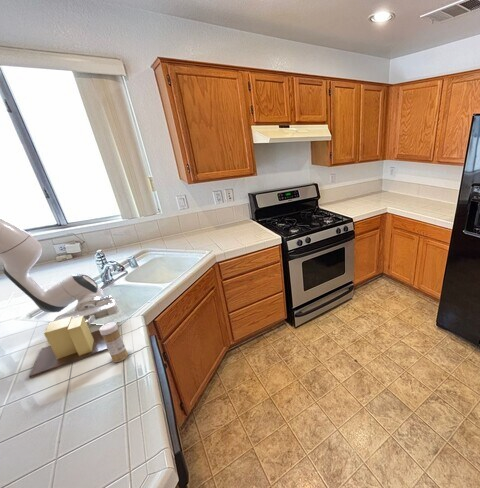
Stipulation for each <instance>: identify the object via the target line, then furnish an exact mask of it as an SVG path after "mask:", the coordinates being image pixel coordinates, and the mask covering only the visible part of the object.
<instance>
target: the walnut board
mask: <svg viewBox="0 0 480 488" xmlns="http://www.w3.org/2000/svg"><path fill="white" fill-rule="evenodd" d="M90 332H91V335H92V337H93V339H94V342H93V347H92V351H91V352H88V353H86V354H83V355H80V356H79V354H78V352H77V353H74V354H71V355H68V356H65V357H62V358H59V359H57V358H56V356H55V354H54V352H53V350H52V348H51V346H50V345H48V346H44V347H42V348H41V349H40V352H39V353H38V356H37V358H36V360H35V362H34V364H33V366H32V369H31V371H30V373H29V375H28V377H29V379H32V378H34V377H36V376H40V375H42V374H46V373H48V372H50V371H53V370H57V369H60V368H61V367H64V366H68V365H70V364H73V363H77V362H78V361H82V360H85V359H88V358H90V357H92V356H96V355H99V354H101V353H104V352H107V351H108V349H107V346H106V344H105V342H104V339H103V336H102V335H101V334H100V331H99V329H97V330H94V331H90Z"/></svg>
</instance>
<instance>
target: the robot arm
mask: <svg viewBox="0 0 480 488" xmlns="http://www.w3.org/2000/svg"><path fill="white" fill-rule="evenodd" d="M42 254H43V245H42V243H40V241H39V240H37V238H35V237H34V236H32V235H31V234H30V233H29V232H28V231H26V230H24V229H23V228H22V227H20V226H18V225H17V224H15V223H13V222H11V221H9V220H8V219H6V218H4V217H2V216H0V260H1V262H2V263H3V265H2V266H1V271H2V272H3V274H4V275H5V276H6V277H7V278H8V279H9V281H11V282H12V283H13V285H15V287H17V288H18V289H19V290H21V291H22V292H23V293H24V294H25V295H26V296H27V297H28V298H29V299H31V300H32V302H33V303H34V304H35V305H36V306H37V307H38V308H39V309H40V310H41V311H43V312H44V313H59V312H61V311H62V310H64V309H66V308H67V307H68V306H69V305H72V303H74V302H76V301H77V303H76V304H75V305H76V306H75V308H74V310H72V311H69V312H66V313H65V312H64V313H62V314H60V315H58V316H56V317H55V318H54V319H53V321H57V320H60V319H64V318H67V317H71V316H72V318H73V319H74V318H77V317H80V316H84V318H85V321H86V323H87V325H88V326H91V324H93V322H95V321H96V320H101V319H103V318H106V317H109V316H113V315H116V314H118V313H120V309H119V306H118V303H117V300H115V298H114V297H113V295H105V292H104V290H103V289H102V288H101V287H99V285H98V284H97V282H96V281H95V280H94V279H93V278H92V277H90V276H88V275H86V274H82V273H73V274H72V275H70V276H68V277H66V278H64V279H62V280H61V281H59V282H58V283H56V284H54V285H53V286H51V287H49V288H43V287H42V286H41V285H40V284H39V283H38V282H37V281H36V280H35V279H33V277H31V276H30V274H29V272H30V270H31V269H32V268H33V267H34V265H36V263H37V262H38V261H39V259H40V258H41V256H42Z"/></svg>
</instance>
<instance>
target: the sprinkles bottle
mask: <svg viewBox="0 0 480 488" xmlns="http://www.w3.org/2000/svg"><path fill="white" fill-rule="evenodd" d="M98 330H99V331H100V334H101V335H102V336H103V339H104V342H105V344H106V346H107V349H108V350H107V351H108V354H109V355H110V358H111V362H113V363H120V362H122V361H124V360H126V359H127V358H128V357H129V352H128V351H127V349H126V345H125V342H124V339H123V337H122V335H121V333H120V330H119V327H118V324H117V322H114V321H111V322H107V323H105V324H103V325H101V326H100V327H99V329H98Z"/></svg>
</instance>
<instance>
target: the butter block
mask: <svg viewBox="0 0 480 488" xmlns="http://www.w3.org/2000/svg"><path fill="white" fill-rule="evenodd" d="M71 319H73V318H72V316H71V317H67V318H64V319H60V320H57V321H54V320H53V321H51V322H48V324H47V326H46V328H45V330H44V332H43V334H44V336H45V338H46V340H47V342H48V344H49V346H51V348H52V350H53V352H54V354H55V356H56V358H57V359H59V358H62V357H65V356H68V355H71V354H74V353H77V350H76V348H75V346H74V344H73V342H72V339H71V337H70V335H69V333H68V331H67V329H68V326H69V323H70V321H71Z"/></svg>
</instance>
